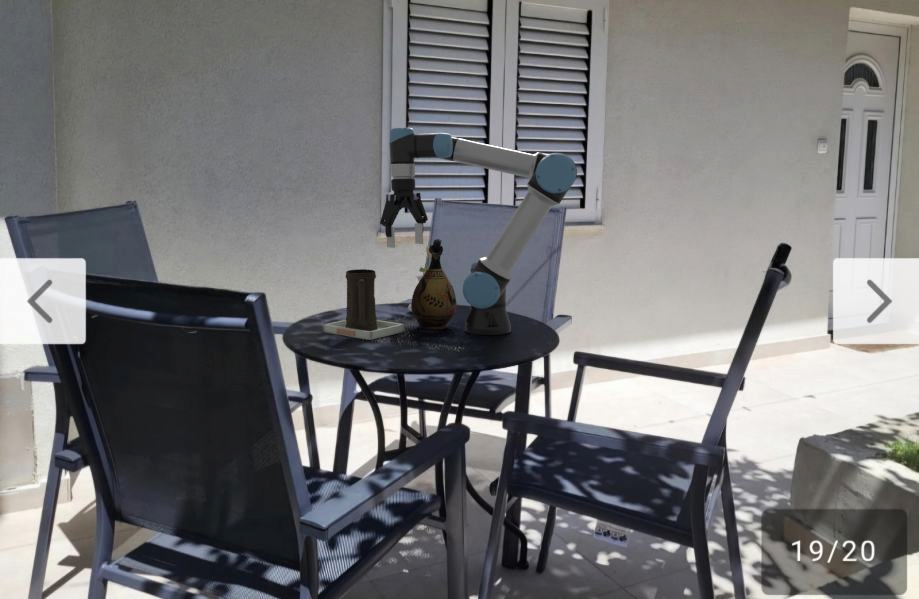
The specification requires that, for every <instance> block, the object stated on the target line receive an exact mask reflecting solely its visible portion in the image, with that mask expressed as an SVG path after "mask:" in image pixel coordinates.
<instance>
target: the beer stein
mask: <svg viewBox="0 0 919 599" xmlns="http://www.w3.org/2000/svg"><path fill="white" fill-rule="evenodd" d="M376 273H377V272H376V270H374V269H364V268H363V269H362V268H361V269H360V268H359V269H349V270H346V271H345V278H346V318H345V320H346V326H345V327H346V328H352V329H358V330H365V331H374V330H377V329H378V326H377V320H378V318H377V312H376V297H375V281H376V280H375V279H376V278H377V274H376Z"/></svg>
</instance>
